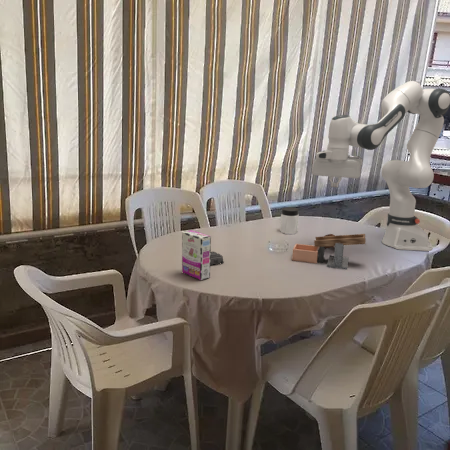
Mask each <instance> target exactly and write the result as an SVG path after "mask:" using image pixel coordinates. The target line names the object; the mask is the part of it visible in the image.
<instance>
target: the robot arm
mask: <svg viewBox="0 0 450 450" xmlns="http://www.w3.org/2000/svg"><path fill="white" fill-rule="evenodd" d="M380 106H381V111H382V113H383V115H384V116H382V118H380V120H379V121H378V122H376V123H372V124H366V123H359V122H356V121H355V120H353V118H352V117H351V116H350V115H348V114H342V115H341V114H339V115H335V116H333V117H332V118H331V120H330V123H329V127H328V143H327V147H326V148H327V149H326V150H322V151H319V152H317V153H316V154H315V159H314V161H313V162H312V168H311V174H312V176H320V177H328V180H329V181H330V187H331V188H339V184H340V182H341V180H342V178H343V179H344V178H347V179H359V178H360V177H361V167H362V166H363V163H364V160H363V158H362V157H360V155H349V152H350V151H349V150H350V147H355V148H360V149H365V150H368V151H372V150H376V149H377V148H379V146H380V145H381V144H382V142H383V141H384V139H385V138H386V137H387V135H389V133H390V132H392V130H394V128H396V127H397V125H398V124H400V122H401V121H402V120H403V119H404V117H405V115H406V113H408V114H411V115H416V114H417V115H419V120H418V122H417V124H416V126H415V127H414V130H413V132H412V134H411V136H410V138H409V140H408V142H407V144H406V149H407V151H408V152H409V154H410V157H409V160H408V161H406V160H401V159H394V160H387V161H386V162H384V164H383V166H382V167H381V176H382V178H383V180H384V181H385V183H386V184H387V187H388V190H389V210H388V213H387V216H386V228H385V233H384V235H383V238H382V240H381V243H382V244H383V245H385V246H388V247H392V248H393V249H396V250H402V251H403V250H404V251H405V250H407V251H419V252H420V251H421V252H422V251H423V252H424V251H425V252H431V251H433V249H434V247H433V244H432V242H430V241H429V235H428V233H427V232H426V231H425V230H424V229H423V228H422V227H421V226H420V225H419V224H420V223H421V221H420V219H419V218H418V217H417V216H416V215H415V210H416V205H417V200H416V198H415V196H414V195H413V194H412V192H411V189H410V188H413V189H426V188H428V187H429V186H430V185H431V184H432V183H433V181H434V176H435V174H434V170H433V169H432V167H431V156H432V153H433V152H434V151H433V150H434V148H435V146H436V144H437V142H438V140H439V138H440V135H441V133H442V130H443V126H444V123H445V118H444V115H446V114H447V112H448V110H449V108H450V91H448V90H447V89H443V88H439V87H438V88H424V89H423V87H422V85H421V84H420V83H419V82H417V81H415V80H408V81H406V82H404V83H402V84H400V85H398V86H397V87H396V88H394V89H392V91H390V92H389V93H388V94H387V95H386V96H384V98H382V100H381V105H380ZM334 178H337V180H338V181H337V182H334V181H333V179H334Z"/></svg>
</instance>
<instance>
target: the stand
mask: <svg viewBox="0 0 450 450" xmlns="http://www.w3.org/2000/svg"><path fill="white" fill-rule="evenodd" d="M344 248H345V245H343V243H335V246H334V255H329V257H328V260H327V263H326V268H333V269H341V270H348V268H349V267H348V266H349V260H350V259H349V258H350V257H349V256H344ZM325 251H326V249H325V246H323V247H319V255H318V261H317V264H319V263H320V264H323V263H324V260H325Z"/></svg>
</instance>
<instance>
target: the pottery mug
mask: <svg viewBox="0 0 450 450" xmlns="http://www.w3.org/2000/svg"><path fill="white" fill-rule="evenodd" d="M324 236H336V235H335V234H334V233H329V234H328V233H327V234H325V235H324ZM327 249H335V246H325V250H327Z"/></svg>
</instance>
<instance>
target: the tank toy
mask: <svg viewBox="0 0 450 450" xmlns="http://www.w3.org/2000/svg"><path fill="white" fill-rule="evenodd" d="M224 262H225V261H224V256H223V255H221V253H217V252H216V251H211V254H210V266H211V265H212V266H214V265H213V264H217V265H218V264H219V263H221V264H219V265H223V264H224Z"/></svg>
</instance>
